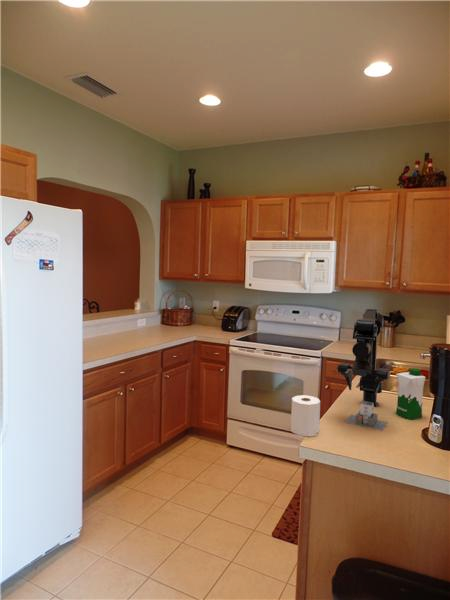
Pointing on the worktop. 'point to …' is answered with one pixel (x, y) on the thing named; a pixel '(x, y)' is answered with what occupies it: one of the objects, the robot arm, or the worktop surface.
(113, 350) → the worktop surface
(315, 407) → the toilet paper
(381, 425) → the stand
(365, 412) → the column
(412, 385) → the milk carton
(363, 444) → the worktop surface
